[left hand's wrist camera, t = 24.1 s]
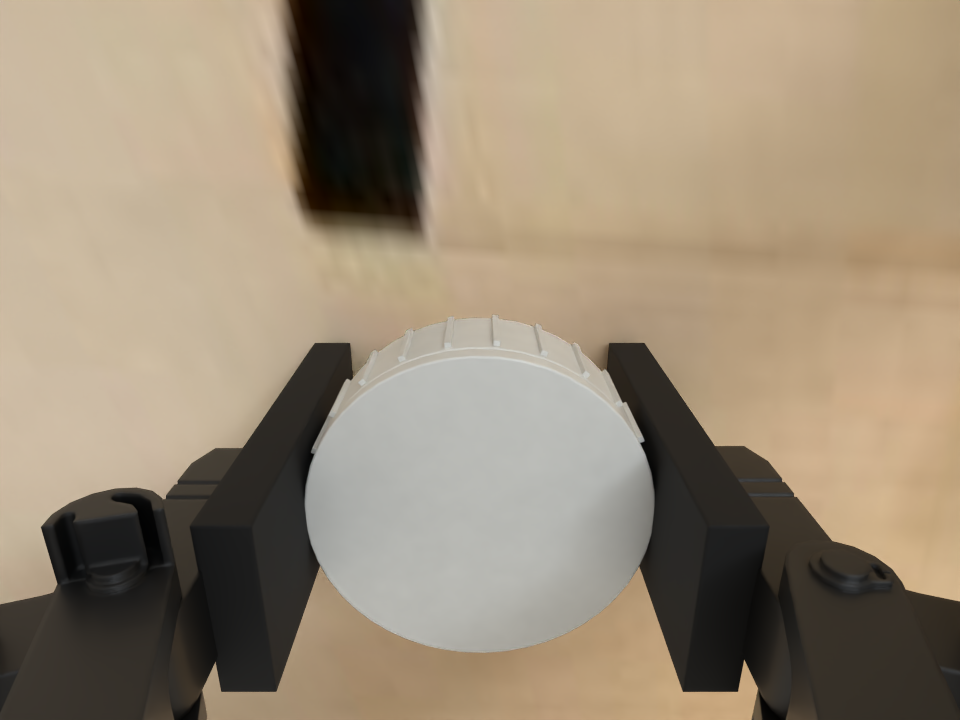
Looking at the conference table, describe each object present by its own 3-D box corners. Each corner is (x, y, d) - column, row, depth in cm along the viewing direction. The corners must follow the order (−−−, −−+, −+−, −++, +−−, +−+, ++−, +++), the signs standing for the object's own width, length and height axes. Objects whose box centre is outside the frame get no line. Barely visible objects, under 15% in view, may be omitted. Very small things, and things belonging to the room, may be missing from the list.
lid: (698, 452, 12) (734, 511, 10) (487, 629, 14) (488, 706, 12) (469, 244, 11) (468, 271, 9) (263, 467, 12) (227, 528, 11)
